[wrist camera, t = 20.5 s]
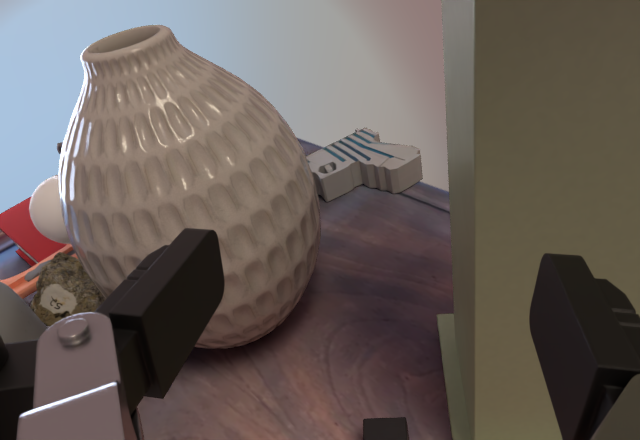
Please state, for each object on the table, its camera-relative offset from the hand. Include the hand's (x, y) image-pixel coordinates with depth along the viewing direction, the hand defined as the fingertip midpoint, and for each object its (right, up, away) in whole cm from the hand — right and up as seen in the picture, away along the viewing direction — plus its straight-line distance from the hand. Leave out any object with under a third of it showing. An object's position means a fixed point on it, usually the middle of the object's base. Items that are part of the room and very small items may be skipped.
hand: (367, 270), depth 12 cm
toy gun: (+4, +4, +34) cm, 34 cm away
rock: (-15, -8, +28) cm, 33 cm away
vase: (-7, -6, +27) cm, 29 cm away
